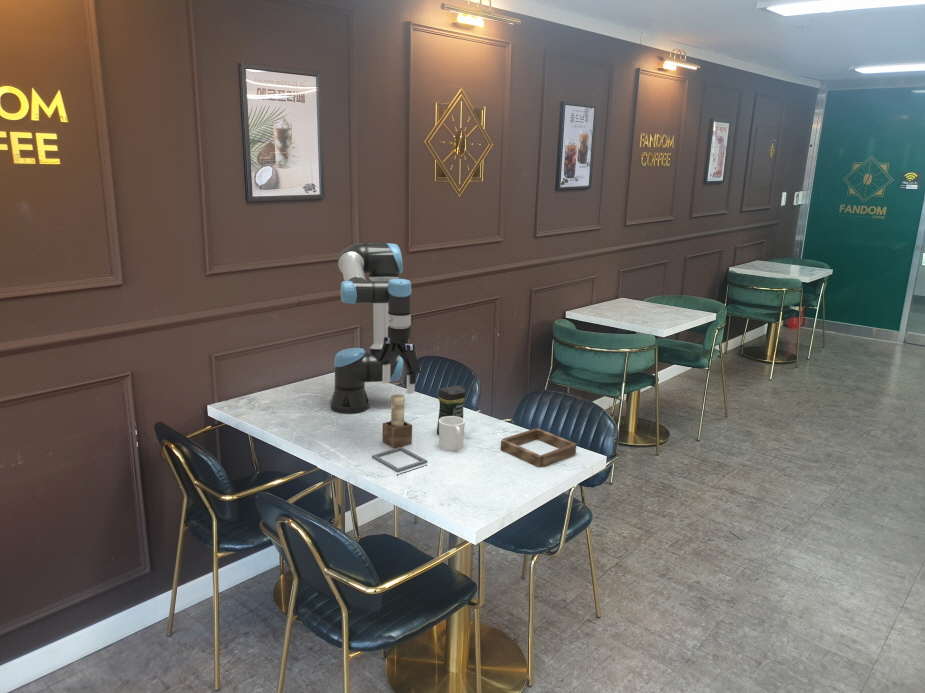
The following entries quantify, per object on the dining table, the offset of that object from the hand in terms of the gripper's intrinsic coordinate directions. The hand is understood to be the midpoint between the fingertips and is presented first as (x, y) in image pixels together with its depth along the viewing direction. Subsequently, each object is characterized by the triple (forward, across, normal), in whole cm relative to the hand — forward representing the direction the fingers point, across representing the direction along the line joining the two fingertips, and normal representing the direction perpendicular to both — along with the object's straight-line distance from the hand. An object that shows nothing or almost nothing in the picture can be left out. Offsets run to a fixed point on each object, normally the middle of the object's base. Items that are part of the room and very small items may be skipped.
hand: (398, 387), depth 238 cm
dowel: (+20, 0, 0) cm, 20 cm away
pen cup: (+21, 0, 0) cm, 21 cm away
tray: (+21, +12, -8) cm, 25 cm away
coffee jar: (+21, +4, +21) cm, 30 cm away
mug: (+22, +14, +13) cm, 29 cm away
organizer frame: (+21, +32, +36) cm, 53 cm away
